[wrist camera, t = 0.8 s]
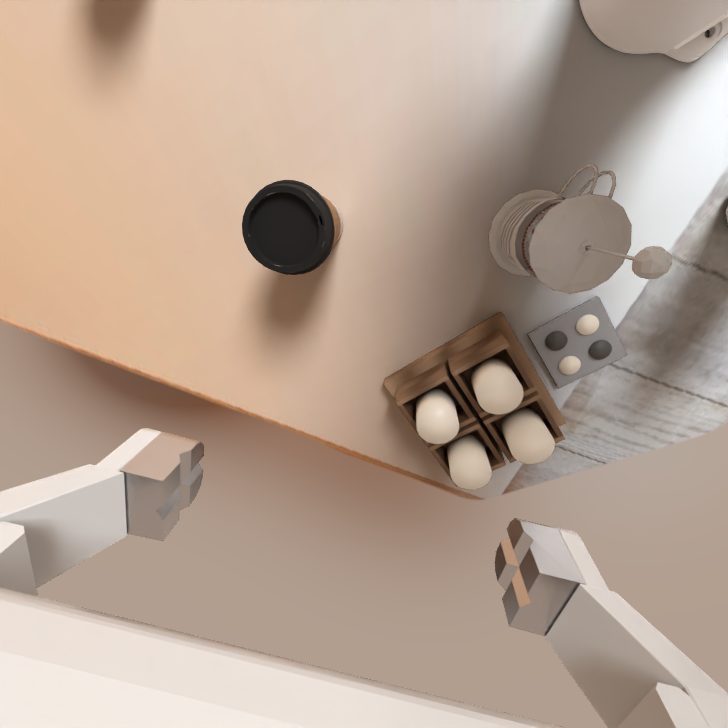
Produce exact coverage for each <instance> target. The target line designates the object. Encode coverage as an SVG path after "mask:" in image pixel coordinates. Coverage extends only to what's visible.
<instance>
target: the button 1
mask: <svg viewBox="0 0 728 728" xmlns="http://www.w3.org/2000/svg"><path fill="white" fill-rule="evenodd" d="M416 426H417V432H418V434H419V435H420V437H421V438H422V439H424V440H425V441H427V442H429V443H433V444H443V443H446V442H449V441H451V440H452V439H453V438H454V437H455V436H456V435H457V433H458V431H459V421H458V417H457V412H456V408H455V403H454V400H453V398H452V396H451V395H450V394H449V393H448V392H446V391H444V390H441V389H430V390H428V391H426V392H424V393H422V394H421V395H420V396H419V397H418V399H417V402H416Z"/></svg>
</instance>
